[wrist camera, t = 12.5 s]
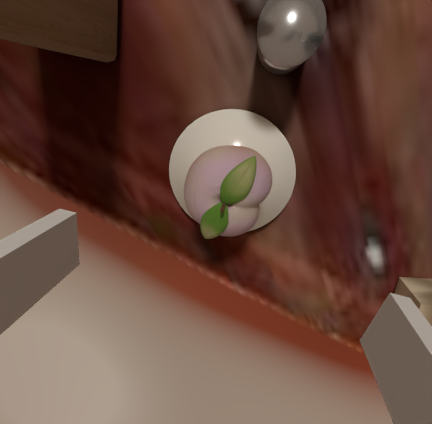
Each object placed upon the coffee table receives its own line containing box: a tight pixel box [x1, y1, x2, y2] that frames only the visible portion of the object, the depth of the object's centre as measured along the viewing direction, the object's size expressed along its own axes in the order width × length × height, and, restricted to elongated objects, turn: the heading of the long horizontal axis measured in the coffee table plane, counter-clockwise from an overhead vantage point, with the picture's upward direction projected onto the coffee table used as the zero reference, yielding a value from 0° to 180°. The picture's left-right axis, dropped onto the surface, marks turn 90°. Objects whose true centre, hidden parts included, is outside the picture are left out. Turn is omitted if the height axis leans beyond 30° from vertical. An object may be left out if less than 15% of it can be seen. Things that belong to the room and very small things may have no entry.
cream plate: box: [169, 109, 296, 232], centre depth 30 cm, size 15×15×2 cm
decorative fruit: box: [184, 145, 272, 239], centre depth 25 cm, size 9×8×10 cm
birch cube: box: [394, 277, 432, 326], centre depth 32 cm, size 5×5×5 cm
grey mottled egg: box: [257, 0, 326, 75], centre depth 22 cm, size 5×5×7 cm
